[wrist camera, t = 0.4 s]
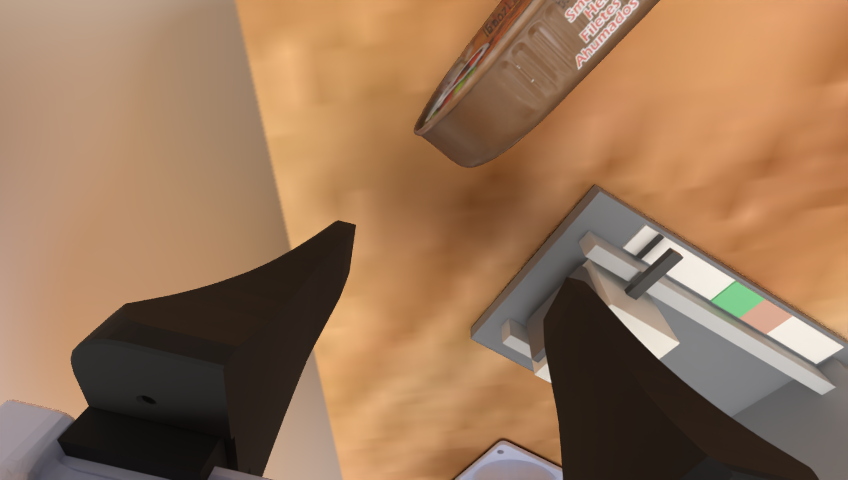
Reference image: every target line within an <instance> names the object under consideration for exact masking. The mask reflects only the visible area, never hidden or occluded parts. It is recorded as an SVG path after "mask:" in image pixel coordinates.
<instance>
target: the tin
mask: <svg viewBox="0 0 848 480" xmlns="http://www.w3.org/2000/svg"><path fill="white" fill-rule="evenodd" d="M659 1H660V0H502V1H501V2H500V4H499V5H498V6H497V8H496V9H495V10H494V11H493V13H492V14H491V15H490V17H489V18H488V19H487V21H486V22H485V23H484V25H483V26H482V27H481V28H480V30H479V31H478V32H477V34H476V35H475V36H474V38H473V39H472V40H471V41H470V43H469V44H468V45H467V47H466V48H465V50H464V51H463V52H462V54H461V56H460V57H459V58H458V59H457V61H456V62H455V63H454V65H453V66H452V67H451V69H450V70H449V72H448V73H447V74H446V76H445V77H444V79H443V80H442V82H441V83H440V85H439V86H438V88H437V89H436V91H435V92H434V94H433V95H432V97H431V99H430V100H429V102H428V103H427V105H426V107H425V108H424V110H423V112H422V114H421V116H420V117H419V119H418V121H417V123H416V125H415V128H414V133H415V134H416V135H419V136H422V137H423V138H425V139H426V140H427V141H429V142H430V143H431V144H432V145H434V146H435V147H436V148H437V149H438V150H440V151H441V152H442V153H443V154H444V155H446V156H447V157H448V158H449V159H451V160H452V161H454V162H455V163H457V164H458V165H460V166H463V167H467V168H470V167H476V166H479V165H482V164H484V163H486V162H488V161H490V160H492V159H494V158H496V157H498V156H499V155H501V154H502V153H504V152H505V151H506V150H508V149H509V148H511V147H512V146H513V145H514V144H516V143H517V142H518V141H519V140H520V139H522V138H523V137H524V136H525V135H526V134H528V133H529V132H530V131H531V130H532V129H533V128H534V127H536V126H537V125H538V124H539V123H540V122H541V121H542V120H543V119H544V118H545V117H546V116H547V115H548V114H549V113H550V112H552V111H553V109H554V108H555V107H556V106H557V105H558V104H559V103H560V102H561V101H562V100H563V99H564V98H565V97H566V96H567V95H568V94H569V93H570V92H571V91H572V90H573V89H574V88H575V87H576V86H577V85H578V84H579V83H580V82H581V81H582V80H583V79H584V78H585V77H586V76H587V75H588V74H589V73H590V72H591V71H592V70H593V69H594V68H595V67H596V66H597V65H598V64H599V63H600V62H601V61H602V60H603V59H604V58H605V57H606V56H607V55H608V54H609V53H610V51H611V50H612V49H613V48H614V47H615V46H616V45H617V44H618V43H619V42H620V41H621V40H622V39H623V38H624V37H625V36H626V35H627V34H628V33H629V32H630V31H631V30H632V29H633V28H634V27H635V26H636V25H637V24H638V23H639V22H640V21H641V20H642V19H643V18H644V17H645V16H646V15H647V13H648V12H649V11H650V10H651V9H652V8H653V7H654V6H655V5H656V4H657V3H658V2H659Z"/></svg>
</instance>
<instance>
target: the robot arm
mask: <svg viewBox="0 0 848 480" xmlns="http://www.w3.org/2000/svg"><path fill="white" fill-rule="evenodd" d="M355 228H356V225H355V224H351V223H347V222H343V221H339V220H338V221H336V222H334V223H333V224H331V225H330V226H328V227H327V228H325V229H324V230H322V231H321V232H320V233H318V234H317V235H315V236H314V237H312V238H311V239H309V240H307V241H306V242H304V243H303V244H301V245H299V246H298V247H296V248H295V249H293V250H291V251H289V252H288V253H286V254H284V255H282V256H281V257H279V258H277V259H275V260H273V261H271V262H269V263H267V264H265V265H263V266H260V267H258V268H256V269H254V270H251V271H249V272H246V273H244V274H241V275H238V276H235V277H232V278H229V279H226V280H224V281H221V282H218V283H215V284H212V285H208V286H205V287H201V288H198V289H194V290H190V291H186V292H182V293H178V294H174V295H170V296H164V297H159V298H154V299H149V300H143V301H139V302H133V303H127V304H125V305H123V306H122V307H121V308H120V309H119V310H117V311H116V312H115V313H113V314H112V315H111V316H110V317H109V318H108V319H107V320H105V321H104V322H103V323H102V324H101V325H100V326H99V327H98V328H96V329H95V330H94V331H93V332H92V333H91V334H90V335H88V336H87V337H86V338H85V339H84V340H83V341H82V342H81V343H80V344H78V346H77V347H76V348H75V349H74V350H73V351H72V356H71V365H72V368H73V372H74V375H75V377H76V379H77V381H78V383H79V386H80V387H81V390H82V392H83V394H84V396H85V399H86V401H87V403H88V405H89V407H88V408H87V409H86V410H85V411H84V412H83V413H82V414H81V415H80V416H79V417H78V418H77V419H76V420H75V419H74V418H73V417H71V416H70V415H68V414H67V413H64V412H61V411H59V410H55V409H51V408H47V407H42V406H38V405H34V404H29V403H25V402H21V401H16V400H9V401H6V402H5V403H4V404H2V405H1V406H0V480H271V479H268V478H263V477H262V476H263V473H264V470H265V467H266V465H267V462H268V459H269V456H270V454H271V451H272V448H273V445H274V443H275V440H276V438H277V435H278V432H279V429H280V427H281V424H282V421H283V419H284V416H285V414H286V411H287V409H288V406H289V404H290V401H291V399H292V396H293V393H294V391H295V388H296V386H297V383H298V381H299V378H300V376H301V373H302V371H303V369H304V366H305V364H306V361H307V359H308V357H309V355H310V353H311V351H312V349H313V347H314V345H315V343H316V341H317V340H318V338H319V336H320V334H321V332H322V330H323V328H324V327H325V325H326V323H327V321H328V319H329V317H330V315H331V313H332V312H333V310H334V308H335V306H336V304H337V302H338V300H339V298H340V296H341V293H342V291H343V288H344V286H345V283H346V280H347V278H348V275H349V271H350V264H351V257H352V250H353V242H354V235H355ZM543 330H544V347H545V353H546V358H547V363H548V369H549V374H550V379H551V384H552V388H553V393H554V398H555V403H556V408H557V415H558V421H559V432H560V444H561V457H562V468H560V467H558V466H556V465H554V464H552V463H550V462H548V461H546V460H544V459H542V458H540V457H538V456H536V455H534V454H532V453H530V452H528V451H525V450H523V449H521V448H519V447H517V446H515V445H513V444H511V443H509V442H507V441H500V442H498V443H497V444H496V445H495V446H494V447H492V448H491V449H490V450H489V451H488V452H487V453H485V454H484V455H483V456H482V457H481V458H479V459H478V460H477V461H476V462H475V463H474V464H472V465H471V466H470V467H469V468H468V469H466V470H465V471H464V472H463V473H462V474H461V475H459V476H458V477H457V478H456V479H455V480H819V478H818V477H817V475H816V474H815V472H814V471H813V470H812V469H811V468H810V467H809V466H807V465H805V464H804V463H802V462H800V461H799V460H797V459H796V458H794V457H792V456H791V455H789V454H787V453H786V452H784V451H782V450H781V449H779V448H777V447H776V446H774V445H773V444H771V443H769V442H768V441H766V440H764V439H763V438H761V437H760V436H758V435H757V434H755V433H754V432H752V431H751V430H749V429H748V428H746V427H745V426H743V425H742V424H740V423H739V422H737V421H736V420H734V419H733V418H731V417H730V416H729V415H727V414H726V413H724V412H723V411H722V410H720V409H719V408H718V407H716V406H715V405H713V404H712V403H711V402H710V401H708V400H707V399H706V398H704V397H703V396H702V395H700V394H699V393H698V392H697V391H695V390H694V389H693V388H691V387H690V386H689V385H688V384H687V383H685V382H684V381H683V380H682V379H680V378H679V377H678V376H677V375H676V374H675V373H674V372H673V371H671V370H670V369H669V368H668V367H667V366H666V365H665V364H663V363H662V362H661V361H660V360H659V359H658V358H657V357H656V356H655V355H654V354H653V353H652V352H651V351H650V350H649V349H648V348H647V347H646V346H645V345H644V344H643V343H642V342H641V341H640V340H639V339H638V338H637V337H636V336H635V335H634V334H633V333H632V332H631V331H630V330H629V329H628V328H627V327H626V326H625V325H624V324H623V322H622V321H621V320H620V319H619V318H618V317H617V316H616V315H615V314H614V312H613V311H612V310H611V309H610V308H609V307H608V306H607V305H606V303H605V302H604V301H603V300H602V299H601V298H600V297H599V296H598V295H597V293H596V292H595V291H594V290H593V289H592V288H591V287H590V286H589V285H588V284H587V283H586V282H585V281H582V280H578V279H574V278H570V277H566V279H565V281H564V283H563V284H562V286H561V288H560V290H559V292H558V294H557V295H556V297H555V299H554V301H553V303H552V305H551V306H550V308H549V310H548V312H547V314H546V316H545V317H544V319H543Z"/></svg>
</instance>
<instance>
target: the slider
mask: <svg viewBox="0 0 848 480" xmlns="http://www.w3.org/2000/svg"><path fill="white" fill-rule="evenodd" d="M683 258H684V257H683V256H682V255H681V254H680V253H678V252H677V251H675V250H674V249H672V248H669V249H668V250H667V251H666V252H665V253H664V254H662V255H661V256H660V257H659V258H658V259H657V260H656V261H655V262H654V263H653V264H652V265H651V266H649V267H648V268H647V269H646V270H645V271H644V272H643V273H642V274H641V275H640V276H639V277H638V278H636V279H635V280H634V281H633V282H632V283H630V282H628V281H626V280H625V279H623V278H621V277H620V276H618V275H616V274H614V273H613V272H611V271H609V270H608V269H606V268H604V267H602V266H601V265H599V264H597V263H596V262H594V261H592V260H591V259H588V260H587V261H586V262H585V263H584V264H583V265H580V266H579V267H578V268H577V269H576V270H575V271H574V272H573V273H572V274H571V275H570V276H569V277H570V278H574V279H578V280H582V281H585V282H586V283H587V284H588V285H589V286H590V287H591V288H592V289H593V290H594V291H595V292H596V293H597V295H598V296H599V297H600V298H601V299H602V300H603V301H604V302H605V303H606V305H607V306H608V307H609V308H610V309H611V310H612V311H613V312H614V314H615V315H616V316H617V317H618V318H619V319H620V320H621V321H622V322H623V324H624V325H625V326H626V327H627V328H628V329H629V330H630V331H631V332H632V333H633V334H634V335H635V336H636V337H637V338H638V339H639V340H640V341H641V342H642V343H643V344H644V345H645V346H646V347H647V348H648V349H649V350H650V351H651V352H652V353H653V354H654V355H655V356H656V357H657V358H658V359H660V358H661V357H663V356H664V355H665V354H667V353H668V352H669V351H671V350H672V349H673V348H675V347H676V346H677V345H678V344H680V343H679V341H678V339H677V338H676V336H675V335H674V333H673V331H672V330H671V328H670V327H669V325H668V324H667V322H666V320H665V319H664V317H663V316H662V314H661V312H660V311H659V309H658V308H657V306H656V305H655V303H654V301H653V300H652V298H651V297H650V295H649V293H647V292H646V291H647V290H648V289H649V288H650V287H651V286H653V285H654V284H655V283H656V282H657V281H658V280H659V279H660V278H662V277H663V276H664V275H665V274H666V273H667V272H668V271H669V270H671V269H672V268H673V267H674V266H675V265H676V264H677V263H678V262H680V261H681V260H682V259H683ZM561 286H562V285H561ZM561 286H560V287H559V288H558V289H557V290H556V291H555V292H554V293H553V294H552V295H551V296H550V297H549V298H548V299H547V300H546V301H545V302H544V303H543V305H542V306H541V307H540V308H539V309H538V310H537V311H536V312H535V313H534V314H533V315H532V316H531V317H530V318H529V319H528V320H527V321H526V325H527V332H528V338H529V345H530V352H531V358H532V362H533V368H534V375H536V376H538V377H540V378H542V379H544V380H546V381H548V382H550V383H551V379H550V374H549V369H548V363H547V358H546V353H545V347H544V330H543V319H544V317H545V316H546V314H547V312H548V310H549V308H550V306H551V305H552V303H553V301H554V299H555V297H556V295H557V294H558V292H559V290H560V288H561Z"/></svg>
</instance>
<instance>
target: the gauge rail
mask: <svg viewBox="0 0 848 480" xmlns="http://www.w3.org/2000/svg"><path fill="white" fill-rule="evenodd" d="M669 248H672V249H674V250H675V251H677V252H678V253H680V254H681V255H682V256H683V257H684V258H683V259H682V260H681V261H680V262H678V263H677V264H676V265H675V266H674V267H673V268H672V269H671V270H669V271H668V272H667V273H666V274H665V275H664V276H663V277H662V278H660V279H659V280H658V281H657V282H656V283H655V284H654V285H653V286H651V287H650V288H649V289H648V290H647V291H646V292H647V293H649V295H650V297H651V298H652V300H653V301H654V303H655V305H656V306H657V308H658V309H659V311H660V312H661V314H662V316H663V317H664V319H665V320H666V322H667V324H668V325H669V327H670V328H671V330H672V331H673V333H674V335H675V336H676V338H677V339H678V341H679V343H680V344H678V345H677V346H676V347H675V348H673V349H672V350H671V351H669V352H668V353H667V354H665V355H664V356H663V357H661V358H660V359H659V360H660V361H661V362H662V363H663V364H665V365H666V366H667V367H668V368H669V369H670V370H671V371H673V372H674V373H675V374H676V375H677V376H678V377H679V378H680V379H682V380H683V381H684V382H685V383H687V384H688V385H689V386H690V387H691V388H693V389H694V390H695V391H697V392H698V393H699V394H700V395H702V396H703V397H704V398H706V399H707V400H708V401H710V402H711V403H712V404H713V405H715V406H716V407H718V408H719V409H720V410H722V411H723V412H724V413H726V414H727V415H729V416H730V417H731V418H733V419H734V420H736V421H737V422H739V423H740V424H742V425H743V426H745V427H746V428H748V429H749V430H751V431H752V432H754V433H755V434H757V435H758V436H760V437H761V438H763V439H764V440H766V441H768V442H769V443H771V444H773V445H774V446H776V447H777V448H779V449H781V450H782V451H784V452H786V453H787V454H789V455H791V456H792V457H794V458H796V459H797V460H799V461H800V462H802V463H804V464H805V465H807V466H809V467H810V468H811V469H812V470H813V471H814V472H815V474H816V475H817V477H818V478H819V480H848V341H847V340H845V339H844V338H842V337H841V336H839V335H837V334H836V333H834V332H832V331H831V330H829V329H828V328H826V327H824V326H823V325H821V324H820V323H818V322H816V321H815V320H813V319H811V318H810V317H808V316H807V315H805V314H803V313H802V312H800V311H799V310H797V309H795V308H794V307H792V306H791V305H789V304H787V303H786V302H784V301H782V300H781V299H779V298H778V297H776V296H774V295H773V294H771V293H770V292H768V291H766V290H765V289H763V288H761V287H760V286H758V285H757V284H755V283H753V282H752V281H750V280H749V279H747V278H745V277H744V276H742V275H740V274H739V273H737V272H736V271H734V270H732V269H731V268H729V267H728V266H726V265H724V264H723V263H721V262H720V261H718V260H716V259H715V258H713V257H711V256H710V255H708V254H707V253H705V252H703V251H702V250H700V249H699V248H697V247H695V246H694V245H692V244H690V243H689V242H687V241H686V240H684V239H682V238H681V237H679V236H678V235H676V234H674V233H673V232H671V231H669V230H668V229H666V228H665V227H663V226H661V225H660V224H658V223H657V222H655V221H653V220H652V219H650V218H648V217H647V216H645V215H644V214H642V213H640V212H639V211H637V210H636V209H634V208H632V207H631V206H629V205H628V204H626V203H624V202H623V201H621V200H619V199H618V198H616V197H615V196H613V195H611V194H610V193H608V192H607V191H605V190H603V189H602V188H600V187H598V186H597V185H594V186H593V187H592V188H591V190H590V191H589V192H588V193H587V194H586V195H585V196H584V198H583V199H582V200H581V201H580V202H579V203H578V205H577V206H576V207H575V208H574V209H573V210H572V212H571V213H570V214H569V215H568V216H567V217H566V219H565V220H564V221H563V222H562V223H561V224H560V226H559V227H558V228H557V229H556V230H555V231H554V232H553V234H552V235H551V236H550V237H549V238H548V239H547V241H546V242H545V243H544V244H543V245H542V246H541V248H540V249H539V250H538V251H537V252H536V253H535V255H534V256H533V257H532V258H531V259H530V260H529V261H528V263H527V264H526V265H525V266H524V267H523V268H522V270H521V271H520V272H519V273H518V274H517V275H516V277H515V278H514V279H513V280H512V281H511V282H510V284H509V285H508V286H507V287H506V288H505V289H504V291H503V292H502V293H501V294H500V295H499V296H498V297H497V299H496V300H495V301H494V302H493V303H492V304H491V306H490V307H489V308H488V309H487V310H486V311H485V313H484V314H483V315H482V316H481V317H480V318H479V320H478V321H477V322H476V323H475V324H474V325H473V327H472V328H471V339H472V340H474V341H476V342H478V343H480V344H482V345H483V346H485V347H487V348H489V349H491V350H493V351H495V352H497V353H499V354H501V355H503V356H504V357H506V358H508V359H510V360H512V361H514V362H516V363H518V364H520V365H522V366H523V367H525V368H527V369H529V370H531V371H533V372H534V368H533V362H532V358H531V352H530V345H529V338H528V332H527V325H526V321H527V320H528V319H529V318H530V317H531V316H532V315H533V314H534V313H535V312H536V311H537V310H538V309H539V308H540V307H541V306H542V305H543V303H544V302H545V301H546V300H547V299H548V298H549V297H550V296H551V295H552V294H553V293H554V292H555V291H556V290H557V289H558V288H559V287H560V286H561V285H562V284H563V283H564V281H565V279H566V277H569V276H570V275H571V274H572V273H573V272H574V271H575V270H576V269H577V268H578V267H579V266H580V265H583V264H584V263H585V262H586V261H587V260H588V259H591V260H592V261H594V262H596V263H597V264H599V265H601V266H602V267H604V268H606V269H608V270H609V271H611V272H613V273H614V274H616V275H618V276H620V277H621V278H623V279H625V280H626V281H628V282H630V283H632V282H633V281H634V280H635V279H636V278H638V277H639V276H640V275H641V274H642V273H643V272H644V271H645V270H646V269H647V268H648V267H649V266H651V265H652V264H653V263H654V262H655V261H656V260H657V259H658V258H659V257H660V256H661V255H662V254H664V253H665V252H666V251H667V250H668V249H669Z"/></svg>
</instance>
